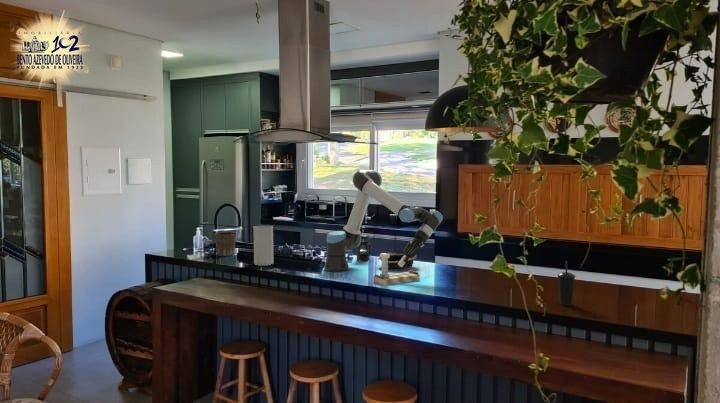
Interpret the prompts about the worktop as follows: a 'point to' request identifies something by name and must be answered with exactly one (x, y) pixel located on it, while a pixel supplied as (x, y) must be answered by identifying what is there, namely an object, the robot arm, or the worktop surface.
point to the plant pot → (225, 243)
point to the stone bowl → (397, 259)
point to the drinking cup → (566, 287)
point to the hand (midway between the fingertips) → (399, 265)
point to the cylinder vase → (263, 245)
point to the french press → (363, 256)
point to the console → (397, 278)
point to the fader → (384, 265)
